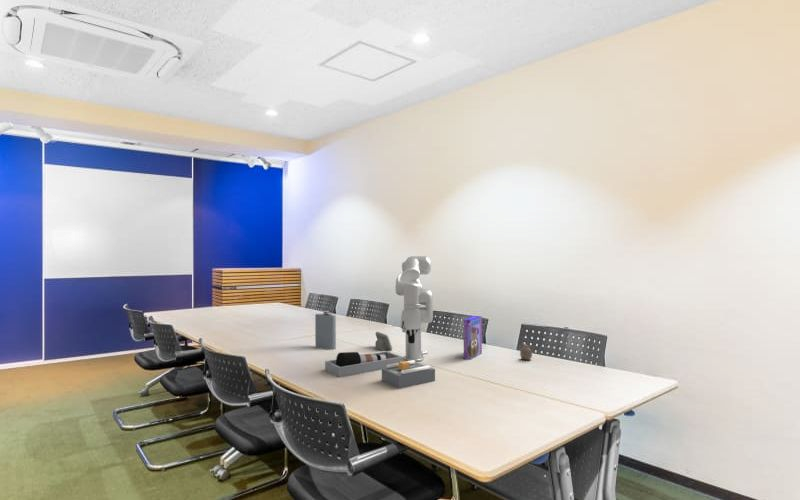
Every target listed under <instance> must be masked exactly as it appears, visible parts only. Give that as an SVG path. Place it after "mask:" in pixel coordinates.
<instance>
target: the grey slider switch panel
mask: <svg viewBox="0 0 800 500" xmlns="http://www.w3.org/2000/svg"><path fill="white" fill-rule="evenodd" d="M422 366H426V365H424V364H422V363H419V362H415V364H411V365H410V369H412V368H417V367H422ZM401 371H402V370H400V369H399V367H395V368H389V369H388V368H384V369H382V370H381V381H382V382H384V383H386V384H388V383H389V385H390V384H391V386H392V387H395V388H397V387H398V388H397V389H399V388H400V389H404V388H408V387H414V386H417V385H422V384H423V385H424V384H427V383H431V382H436V368H433V367H431V368H430V369H428V370H423V371H418V372H413V373H408V374H403V375H402V374H401ZM413 385H414V386H413Z"/></svg>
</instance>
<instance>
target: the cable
mask: <svg viewBox="0 0 800 500" xmlns="http://www.w3.org/2000/svg"><path fill="white" fill-rule="evenodd" d="M370 354H371V355H370ZM390 358H391V357H390ZM390 358H386V356H385V355H384V354H383V355H375V354H374V353H367V354H365V353H364V354H360V353H359V352H358V351H350V352H349V351H347V352H338V353H337V356H336V358H335V360H336V365H337V366H339V367H343V366H348V365H354V364H360V363H366V362H372V361H378V360H384V359H390Z"/></svg>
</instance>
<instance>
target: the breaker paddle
mask: <svg viewBox="0 0 800 500" xmlns="http://www.w3.org/2000/svg"><path fill="white" fill-rule="evenodd" d="M399 369H400V370H407V369H410V362H407V361H406V360H403V361H402V362H399Z"/></svg>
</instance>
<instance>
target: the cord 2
mask: <svg viewBox="0 0 800 500" xmlns="http://www.w3.org/2000/svg"><path fill="white" fill-rule="evenodd" d="M430 368H432V366H431V365H429V364H427V365H425V366H422V367H417V368H412V369H407V370H402V371H401V374H402V375H403V374H408V373H413V372H418V371H423V370H428V369H430Z"/></svg>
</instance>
